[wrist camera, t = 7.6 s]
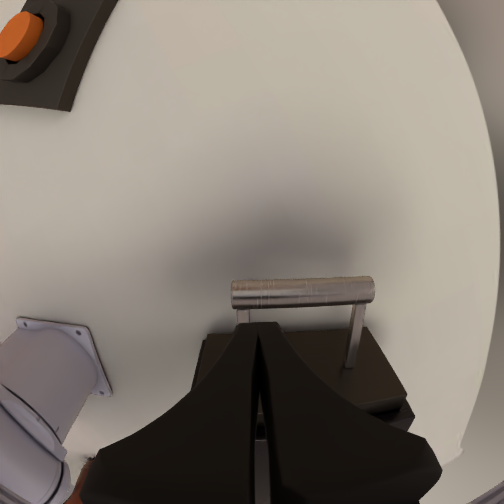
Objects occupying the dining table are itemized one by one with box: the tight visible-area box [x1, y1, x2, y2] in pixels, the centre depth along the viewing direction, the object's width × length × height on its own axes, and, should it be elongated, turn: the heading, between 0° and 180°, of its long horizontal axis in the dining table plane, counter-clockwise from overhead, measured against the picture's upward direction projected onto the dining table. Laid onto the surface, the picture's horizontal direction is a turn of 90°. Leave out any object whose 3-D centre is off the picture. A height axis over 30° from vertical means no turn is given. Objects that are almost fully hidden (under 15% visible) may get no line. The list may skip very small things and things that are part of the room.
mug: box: [63, 460, 93, 504], centre depth 24 cm, size 12×9×10 cm
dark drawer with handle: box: [196, 276, 407, 429], centre depth 17 cm, size 19×11×7 cm, turn 1°
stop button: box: [0, 11, 43, 61], centre depth 9 cm, size 4×4×2 cm
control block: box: [0, 0, 118, 112], centre depth 12 cm, size 10×10×4 cm
